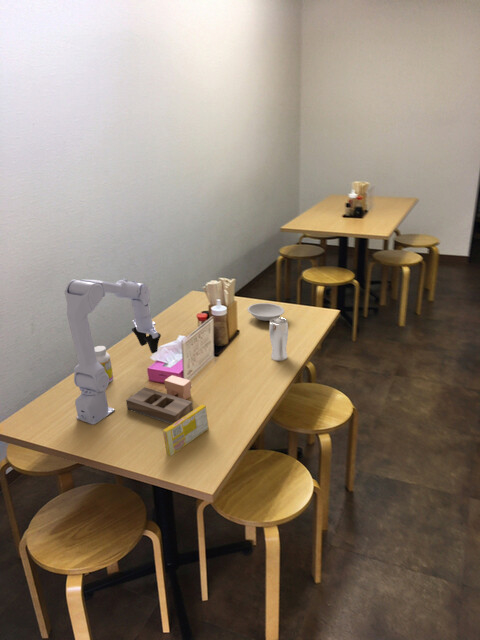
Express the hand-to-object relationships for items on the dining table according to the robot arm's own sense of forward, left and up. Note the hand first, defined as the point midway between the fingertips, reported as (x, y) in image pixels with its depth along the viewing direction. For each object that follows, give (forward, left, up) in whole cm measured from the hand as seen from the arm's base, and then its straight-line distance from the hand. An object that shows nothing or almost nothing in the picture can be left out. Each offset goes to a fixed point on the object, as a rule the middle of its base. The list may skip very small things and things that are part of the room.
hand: (149, 348), depth 194 cm
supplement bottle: (-12, +12, -10) cm, 20 cm away
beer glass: (+32, -36, -10) cm, 49 cm away
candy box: (-27, -37, -10) cm, 47 cm away
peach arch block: (-8, -19, -10) cm, 23 cm away
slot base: (-18, -19, -10) cm, 28 cm away
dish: (+61, -14, -10) cm, 63 cm away
